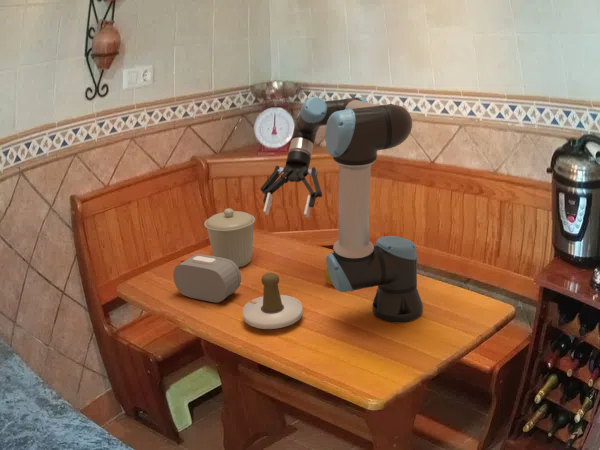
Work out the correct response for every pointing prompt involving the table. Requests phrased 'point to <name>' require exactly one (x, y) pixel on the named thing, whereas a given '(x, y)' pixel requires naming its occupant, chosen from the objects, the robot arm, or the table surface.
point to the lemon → (327, 276)
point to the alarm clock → (207, 277)
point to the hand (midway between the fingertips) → (285, 214)
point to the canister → (231, 235)
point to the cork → (271, 293)
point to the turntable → (272, 313)
